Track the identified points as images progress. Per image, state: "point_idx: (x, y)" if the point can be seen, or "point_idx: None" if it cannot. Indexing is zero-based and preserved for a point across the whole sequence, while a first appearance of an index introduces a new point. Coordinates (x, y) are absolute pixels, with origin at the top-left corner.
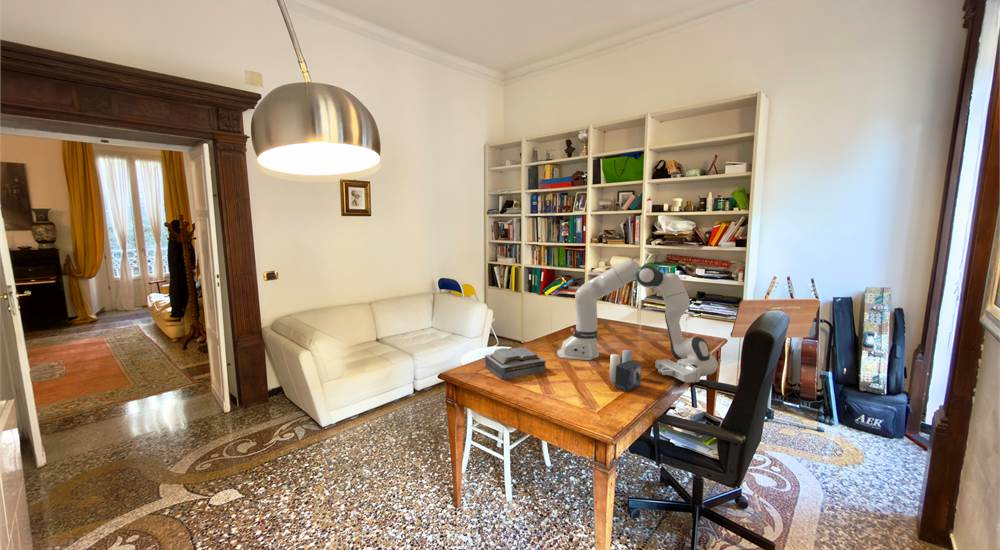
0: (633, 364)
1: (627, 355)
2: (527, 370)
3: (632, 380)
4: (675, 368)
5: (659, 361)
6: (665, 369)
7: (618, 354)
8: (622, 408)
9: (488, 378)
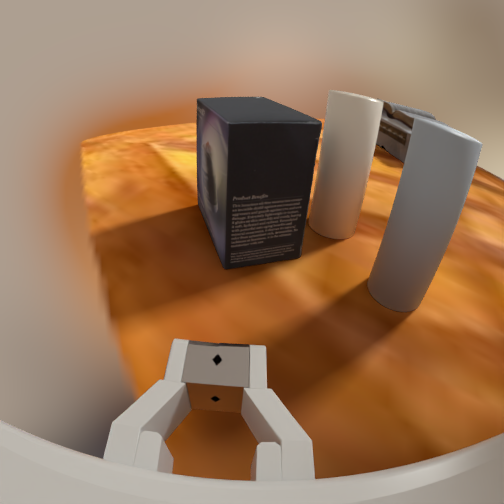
0: (239, 108)
1: (410, 138)
2: (380, 135)
3: (200, 174)
4: (82, 500)
5: (493, 458)
6: (256, 456)
7: (371, 100)
8: (121, 166)
9: None
